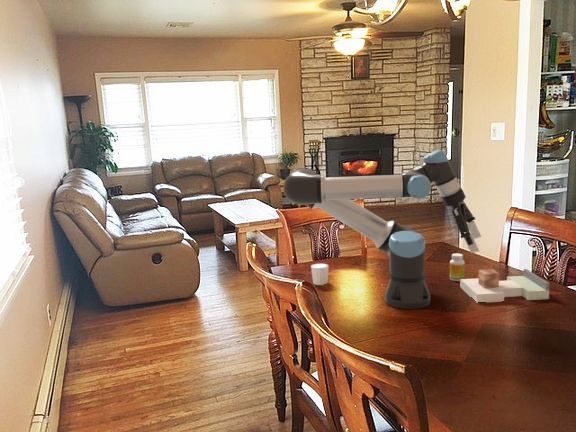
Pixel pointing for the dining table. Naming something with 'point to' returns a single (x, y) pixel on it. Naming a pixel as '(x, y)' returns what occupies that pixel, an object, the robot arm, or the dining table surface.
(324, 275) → the white cup
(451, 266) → the supplement bottle
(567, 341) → the dining table surface
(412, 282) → the robot arm
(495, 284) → the block
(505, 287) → the board
